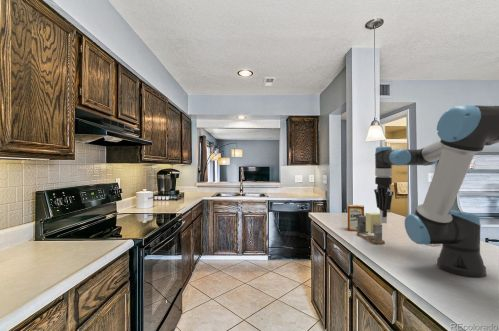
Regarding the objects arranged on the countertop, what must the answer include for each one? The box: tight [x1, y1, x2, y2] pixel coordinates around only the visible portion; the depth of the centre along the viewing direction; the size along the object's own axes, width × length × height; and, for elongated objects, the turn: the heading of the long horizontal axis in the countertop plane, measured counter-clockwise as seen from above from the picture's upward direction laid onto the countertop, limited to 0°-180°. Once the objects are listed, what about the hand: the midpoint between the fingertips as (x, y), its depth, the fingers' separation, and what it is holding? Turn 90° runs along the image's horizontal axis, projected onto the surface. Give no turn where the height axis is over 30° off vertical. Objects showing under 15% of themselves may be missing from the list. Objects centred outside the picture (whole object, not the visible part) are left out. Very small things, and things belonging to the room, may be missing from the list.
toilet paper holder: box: [356, 215, 386, 245], centre depth 145 cm, size 18×6×12 cm, turn 5°
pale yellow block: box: [365, 212, 382, 234], centre depth 141 cm, size 5×6×10 cm
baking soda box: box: [347, 204, 365, 233], centre depth 165 cm, size 10×6×16 cm
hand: (383, 222), depth 132 cm, fingers closed
